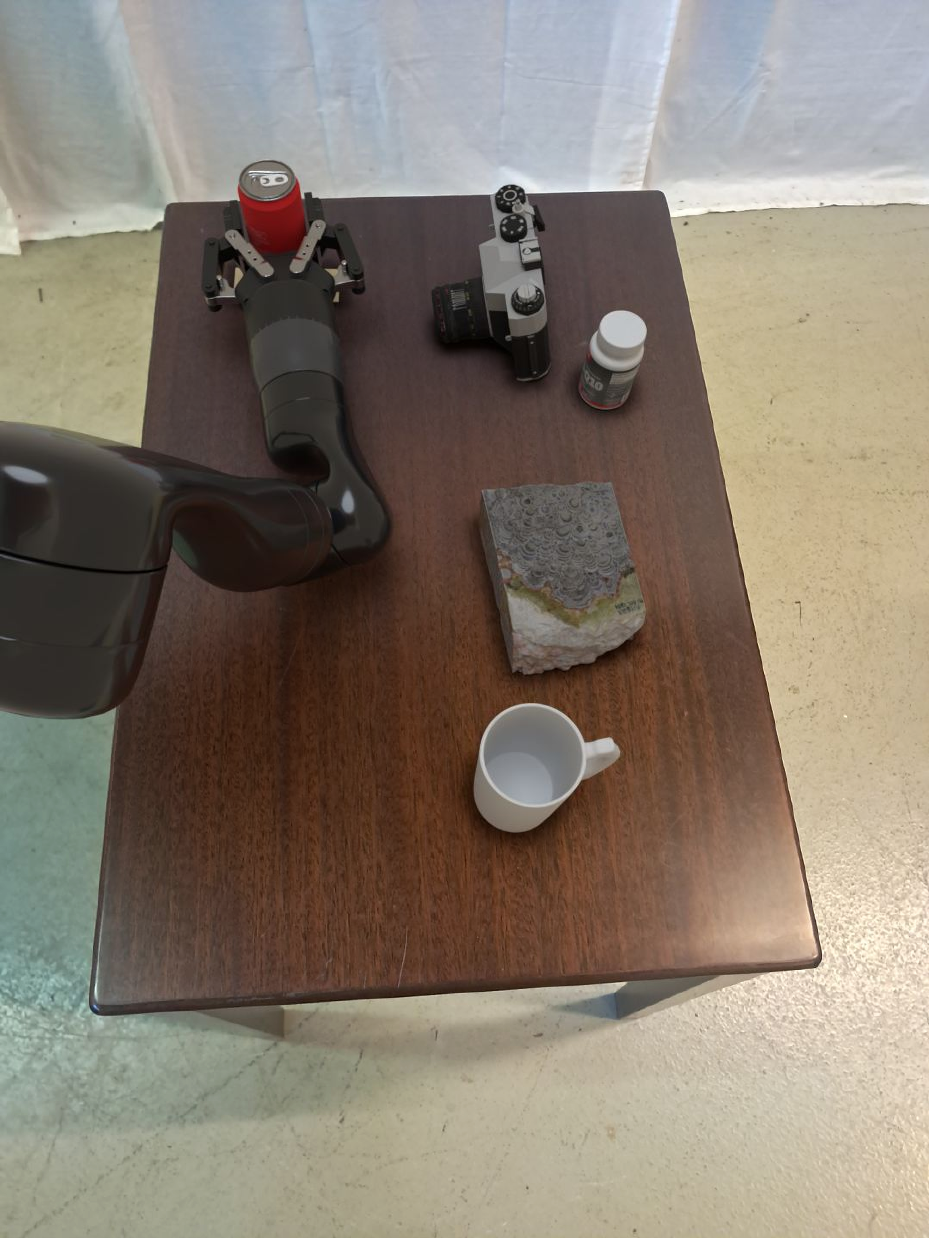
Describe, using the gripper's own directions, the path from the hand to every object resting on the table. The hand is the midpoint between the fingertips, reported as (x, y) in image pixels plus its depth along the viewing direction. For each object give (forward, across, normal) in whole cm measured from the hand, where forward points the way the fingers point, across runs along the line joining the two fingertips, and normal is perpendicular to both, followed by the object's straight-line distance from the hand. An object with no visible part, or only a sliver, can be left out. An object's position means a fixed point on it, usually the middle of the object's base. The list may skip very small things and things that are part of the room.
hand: (271, 204), depth 78 cm
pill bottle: (-19, -27, +8) cm, 34 cm away
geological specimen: (-38, -18, +8) cm, 43 cm away
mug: (-54, -12, +8) cm, 56 cm away
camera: (-10, -18, +8) cm, 22 cm away
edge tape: (-2, 0, +7) cm, 8 cm away
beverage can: (-3, 0, +7) cm, 8 cm away
